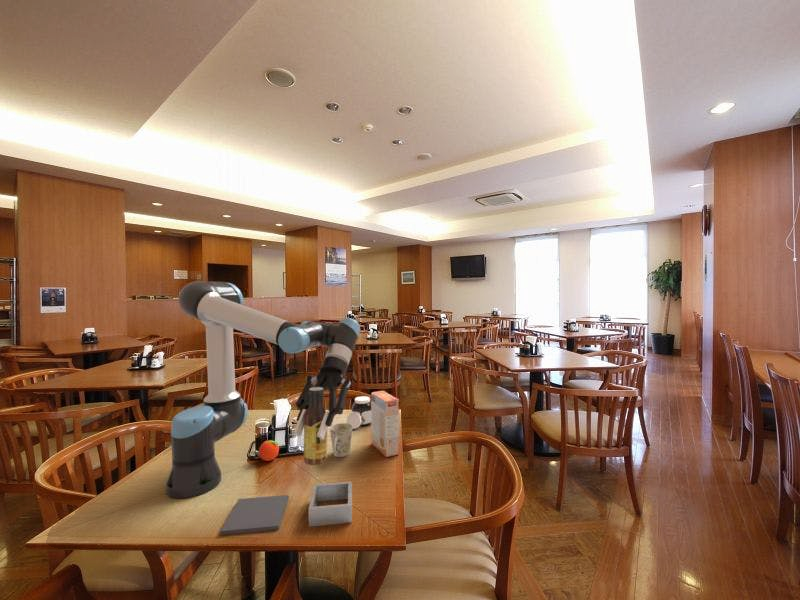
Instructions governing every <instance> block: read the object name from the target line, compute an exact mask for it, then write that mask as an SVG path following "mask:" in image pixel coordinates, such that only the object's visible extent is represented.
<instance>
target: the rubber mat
mask: <svg viewBox="0 0 800 600" xmlns="http://www.w3.org/2000/svg"><path fill="white" fill-rule="evenodd" d="M289 499H290V495H289V494H284V495H270V496H259V497H245V498H238V500H237V502H236V503H235V504H234V507H233V509H232V511H231V512H230V514H229V515H228V518H227V519H226V521H225V523H224V525H223V527H222V528H221V530H220V536H225V535H235V534H236V535H237V534H246V533H255V532H257V533H258V532H267V531H268V532H269V531H278V530H279V529H280V526H281V524H282V521H283V518H284V514H285V511H286V508H287V505H288V502H289Z"/></svg>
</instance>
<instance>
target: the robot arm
mask: <svg viewBox="0 0 800 600" xmlns="http://www.w3.org/2000/svg"><path fill="white" fill-rule="evenodd" d="M177 301H178V302H177V303H178V306H179V308H180V309H181V310H182V312H183V313H185V314H186V315H187V316H189V317H192V318H194V319H198V320H199V322H201V323H202V324H203V325H204V326H205V340H206V367H207V387H208V389H207V390H208V391H207V393H208V394H207V395H206V396H205V397H204V398H203V405H198V406H193V407H188V408H186V409H184V410H182V411H180V412H178V413H177V414H175V415H174V417H173V418H172V420H171V426H170V427H171V428H170V439H171V440H170V441H171V461H172V462H171V468H170V470H169V471H170V472H169V475H168V478H167V480H166V483H165V494H166V495H167V496H168V497H170V498H174V499H188V498H191V497H196V496H200V495H203V494H205V493H208V492H210V491H211V490H213V489H214V488H216V487H217V486H218V485H219V484H220V483H221V481H222V471H221V469H220V465H219V463H218V460H217V458H216V456H215V455H216V454H215V452H216V451H215V450H216V449H215V443H216V442H218V441H220V440H221V439H223V438H225V437H227V436H229V435H230V434H233V433H235V432H236V431H237V430H239V428H241V427H242V426H243V425H244V424H245V422H246V420H247V418H248V412H249V411H248V405H247V403H246V402H244V401H245V400H243V398H242V397H241V394H240V392H238V391H237V390H236V373H235V371H236V369H235V368H236V367H235V366H236V365H235V349H234V348H235V345H234V330H236V331H238V332H239V331H240V332H241V333H245V334H248V335H250V336H252V337H256V338H259V339H262V340H264V341H266V342H269V343H272V344H275V345H277V346H279V348H280V349H281V350H282V351H283V352H284V353H286V354H299V353H302V352H303V351H306V350H307V351H308V350H310V349H312V348H315V347H319V346H320V347H328V349H327V351H326V354H325V355H324V356H325V357H324V360H323V361H322V363H321V367H320V370H319V373H318V374H316V376H311V375H308V376H307V378H306V382H305V385H304V387H303V388H302V391H301V392H300V396H299V397H298V399H297V401H296V403H295V406H296V408H297V409H298V410H299V412H298V415H297V417H296V422H297V423H296V426H295V428H294V431H293V433H295V435H296V436H297V437H301V436H302V433H303V432H304V423H305V412H306V410H307V409H308V407H309V389H310V388H313V387H322V388H324V392H326V391H329V394H328V396H329V401H328V409H327V410H328V411H326V412H325V415H324V417H323V420H322V423H321V426H320V428H319V431H318V434H317V435H318V436H319V438H320V439H324V436H325V433H326V431H327V432H328V427H329V428H330V427H331V426H332V425H333V422H334V418H335V416H336V415H342V414H343V412H344V409H345V404H346V400H347V396H348V393H349V390H350V388H351V386H352V382H351V381H350V380H351V379H349V378H345V377H346V373H347V371H348V367H349V364H350V361H351V358H352V356H353V352H354V350H355V346H356V344H357V341H358V339H359V335H360V331H361V326H360V323H359V322H358V321H356V320H355V319H354V318H352V317H351V318H350V317H344V318H341V319H340V320H339V322H338V323H337V324H336V323H325V322H317V321H316V322H315V321H312V320H311V321H302V322H301V323H300V324H298V323H294V322H290V321H289V320H285V319H283V318H280V317H277V316H275V315H272V314H268V313H266V312H263V311H261V310H258V309H255V308H252V307H249V306H246V305H243V304H244V296H243V294H242V292H241V289H239V288H238V287H237V286H236V285H235V284H233V283H231V282H225V281H207V280H206V281H203V280H199V281H197V280H196V281H191V282H189V283H187V284H186V285H184V286H183V287H182V289H181V290H180V291H179V294H178V296H177ZM340 386H341V387H340ZM338 387H340V391H339V394H338ZM337 394H338V399H337Z"/></svg>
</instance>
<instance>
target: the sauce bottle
mask: <svg viewBox="0 0 800 600" xmlns="http://www.w3.org/2000/svg"><path fill="white" fill-rule="evenodd" d="M324 393H325V391H324V388H322V387H315V386H313V388H310V389H309V407H308V409H307V410H306V412H305V423H304V428H303V458H304V459H303V461H304V464H306V465H308V466H309V465H310V466H317V465H321V464H323V463H325V461H327V455H328V430H327V431H326V433H325V436H324V439H320V438H319V436H318V435H317V434H318V431H319V428H320V426H321V423H322V420H323V417H324V415H325V412H327V411H326V408H325V406H324Z"/></svg>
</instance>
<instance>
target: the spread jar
mask: <svg viewBox="0 0 800 600" xmlns="http://www.w3.org/2000/svg"><path fill="white" fill-rule="evenodd" d="M370 398H371V397H369V396H356V397H355V398H354V403H353V404H352V407H351V412H350V413H349V414H348V415H347V417H346V423H347V424H350V425H352V430H354V429H355V430H357V429H358V428H359V427H367V426H369V425H371V399H370Z"/></svg>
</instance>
